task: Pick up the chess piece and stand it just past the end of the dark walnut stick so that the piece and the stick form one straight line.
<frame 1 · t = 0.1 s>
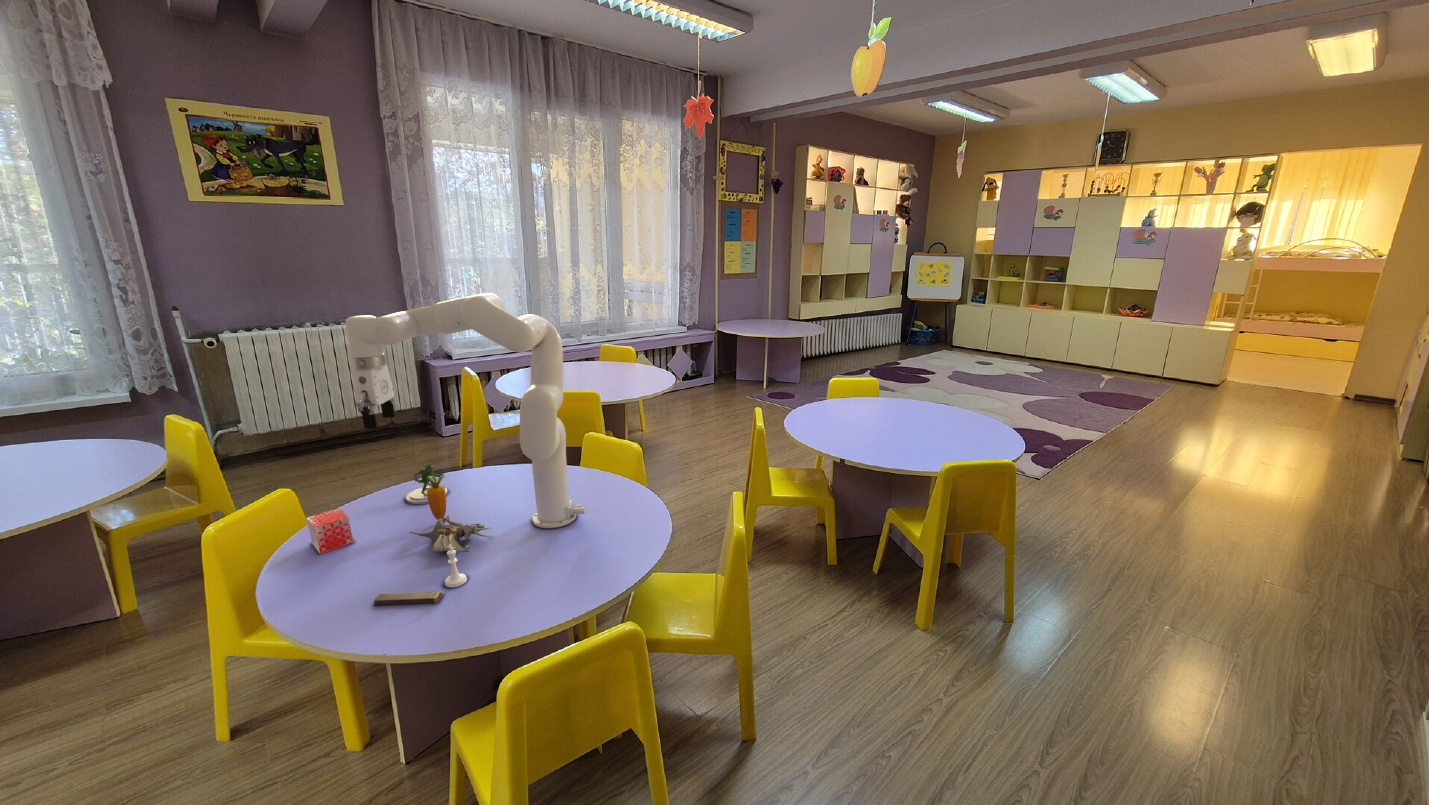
hand: (380, 422, 157), 31 cm above the table, tool pointing down, fingers open, 9 cm apart
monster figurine: (427, 496, 184), on the table
red patterned box: (333, 543, 156), on the table
figurine: (453, 546, 154), on the table
carrot: (441, 523, 167), on the table
chess piece: (456, 582, 138), on the table
walnut stick: (408, 600, 131), on the table
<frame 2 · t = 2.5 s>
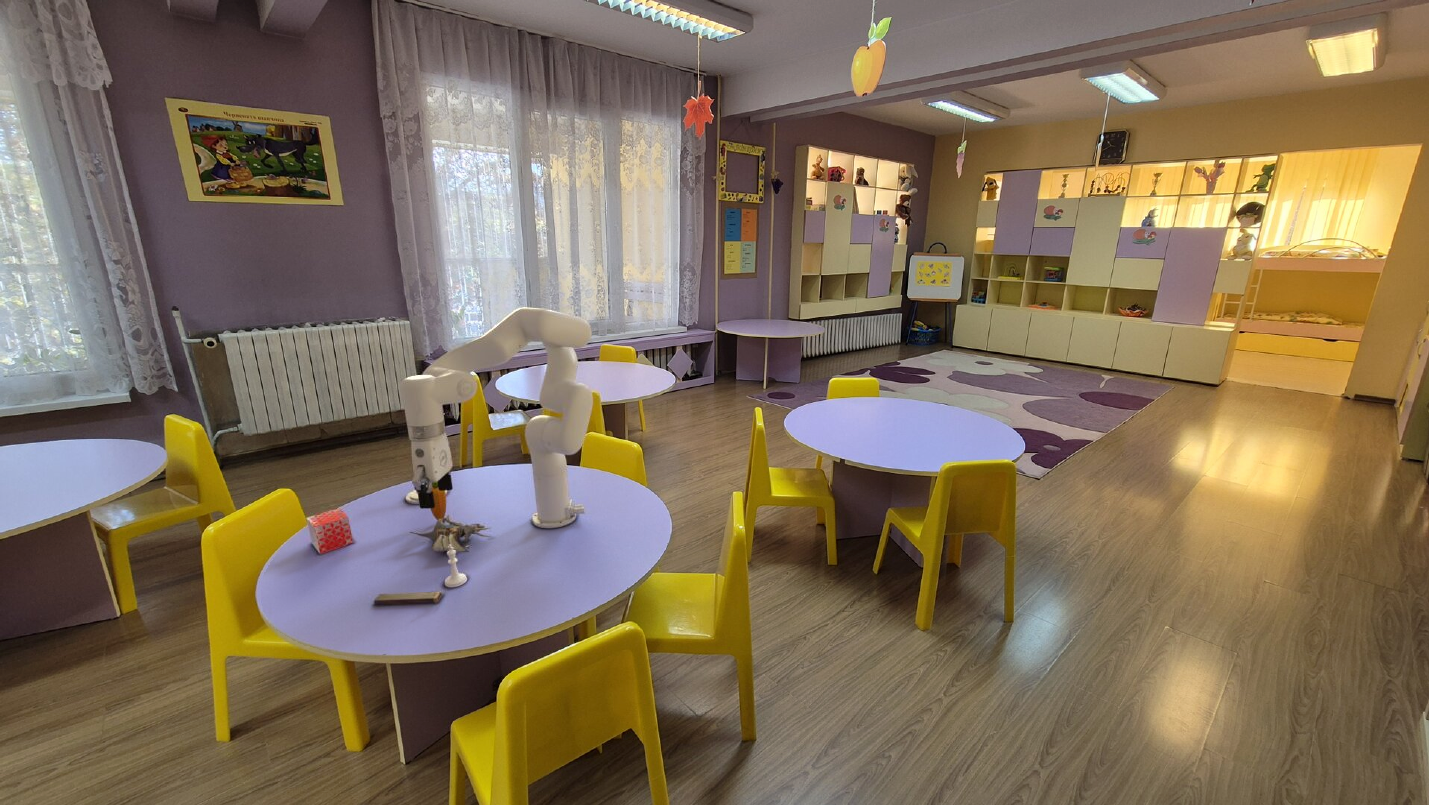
hand: (437, 498, 134), 21 cm above the table, tool pointing down, fingers open, 9 cm apart
nothing on the table moved.
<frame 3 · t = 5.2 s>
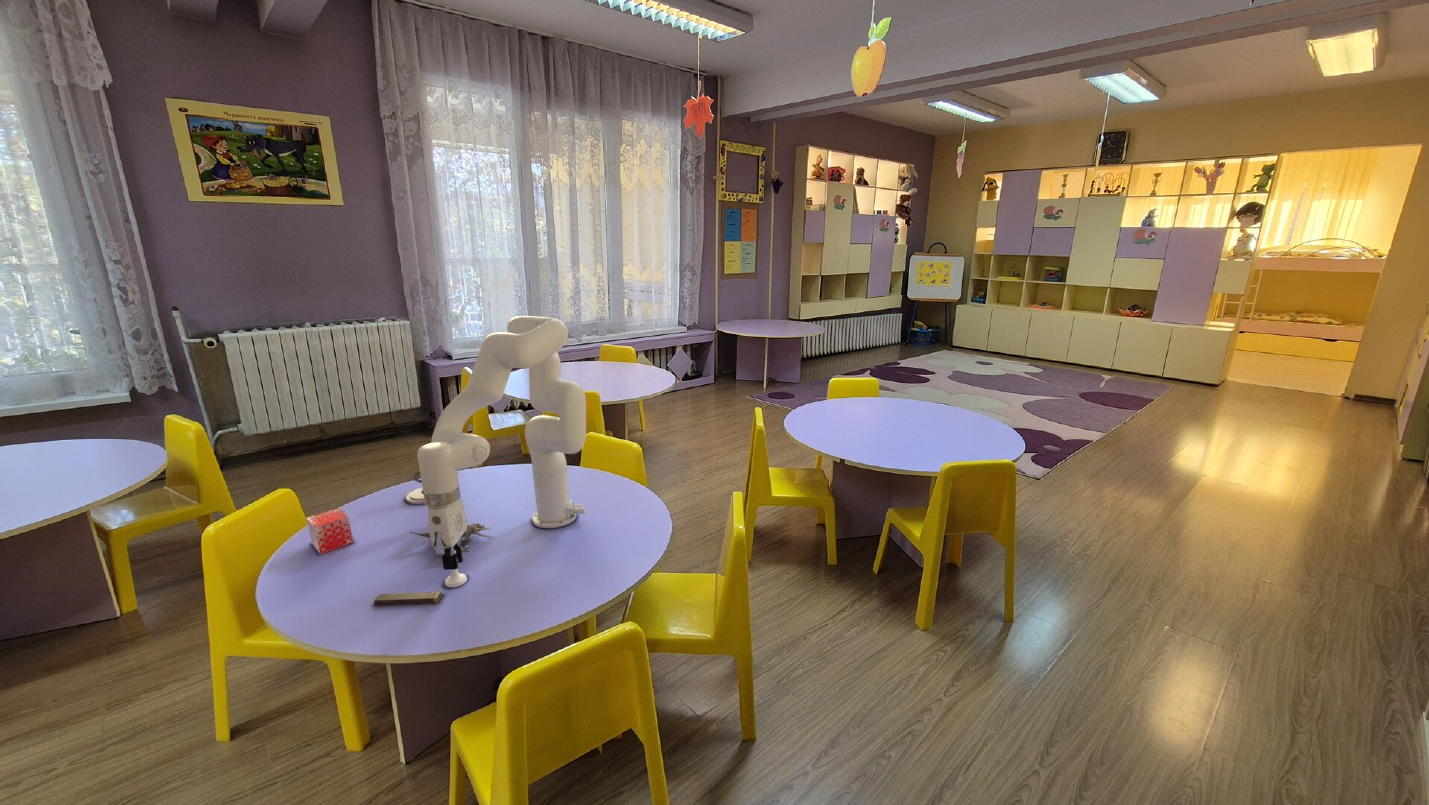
hand: (453, 565, 136), 5 cm above the table, tool pointing down, fingers closed on chess piece
chess piece: (456, 582, 138), on the table, touching gripper
everything else where it was.
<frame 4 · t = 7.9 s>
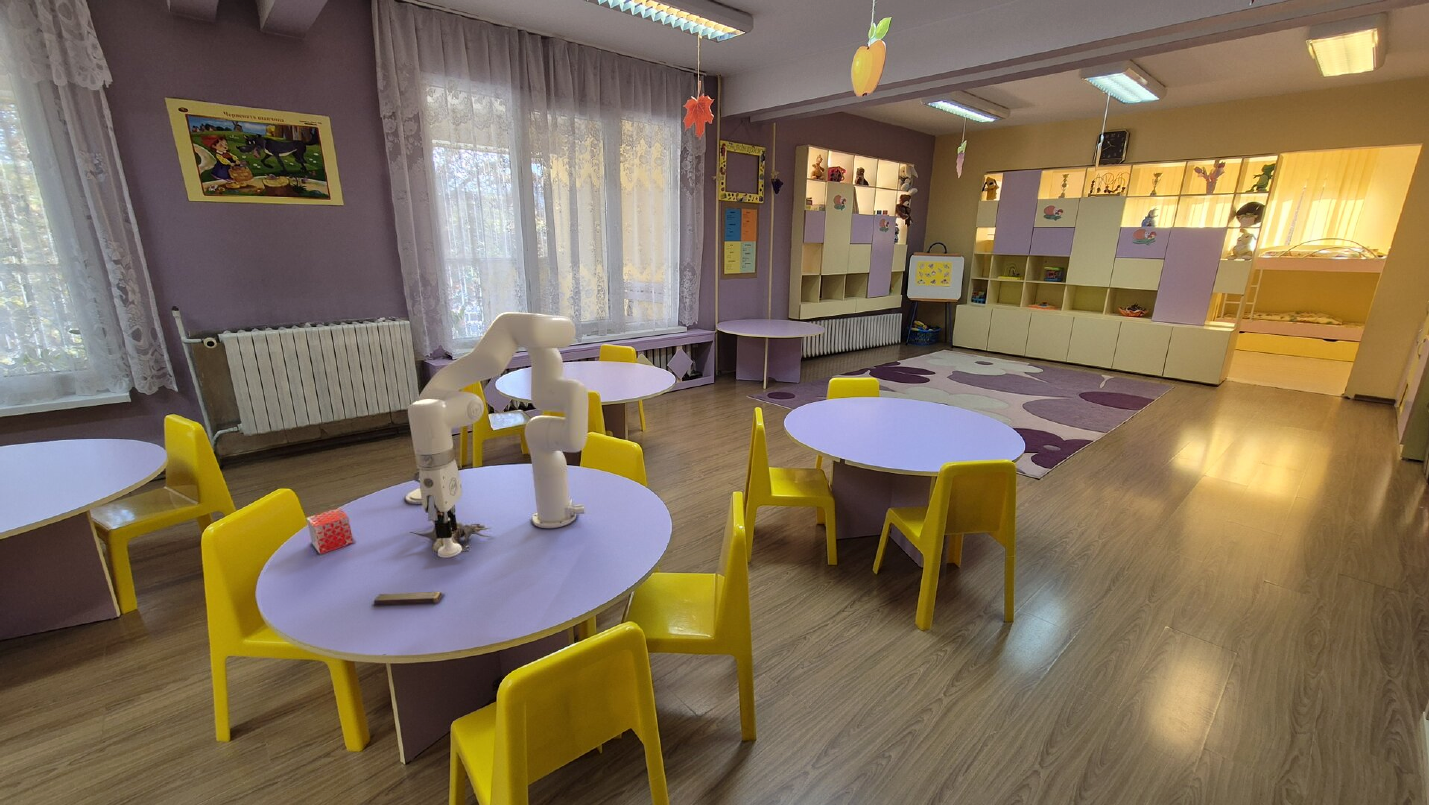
hand: (447, 533, 126), 17 cm above the table, tool pointing down, fingers closed on chess piece
chess piece: (450, 552, 128), point 12 cm above the table, touching gripper
everything else where it was.
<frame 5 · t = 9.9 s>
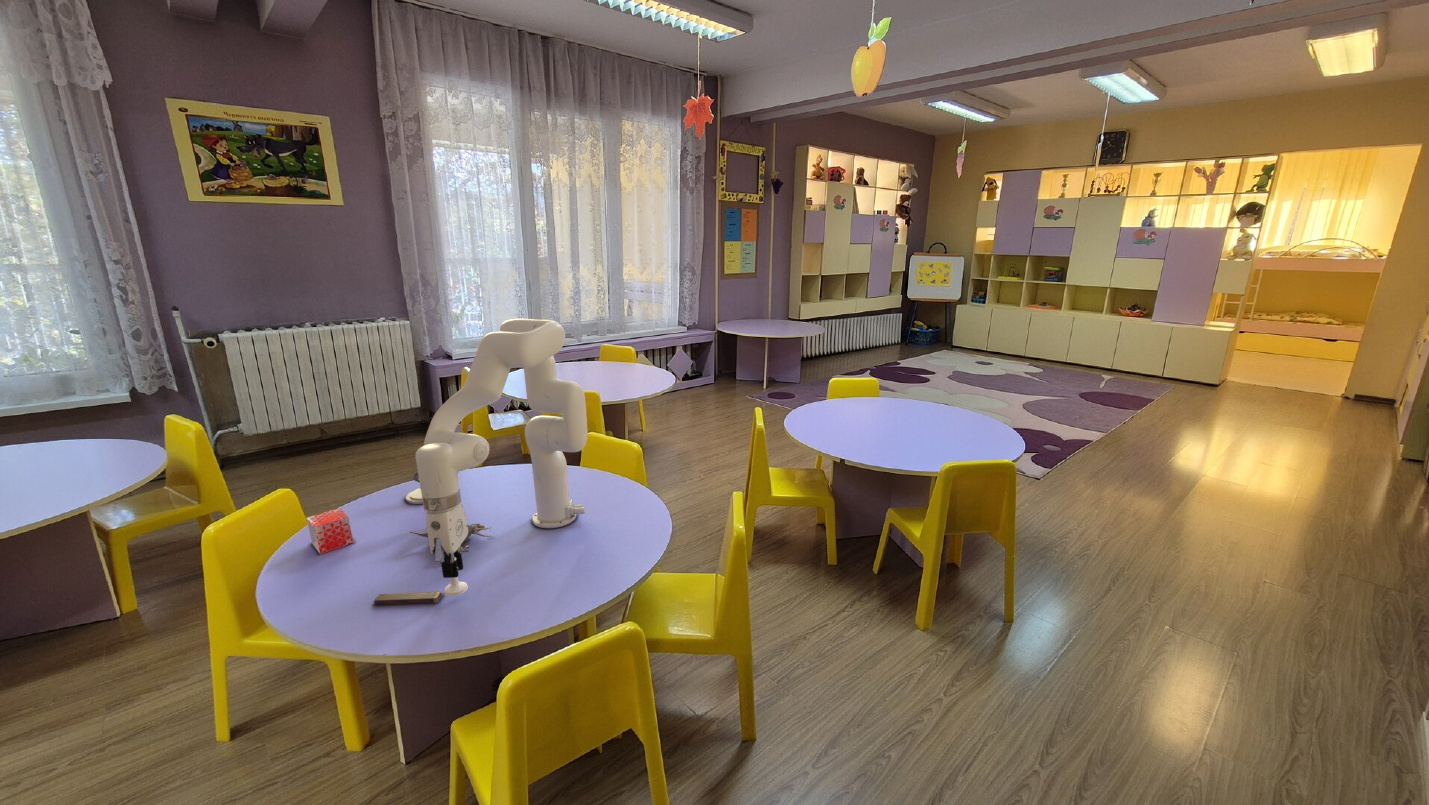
hand: (453, 572, 129), 7 cm above the table, tool pointing down, fingers closed on chess piece
chess piece: (456, 590, 130), point 2 cm above the table, touching gripper
everything else where it was.
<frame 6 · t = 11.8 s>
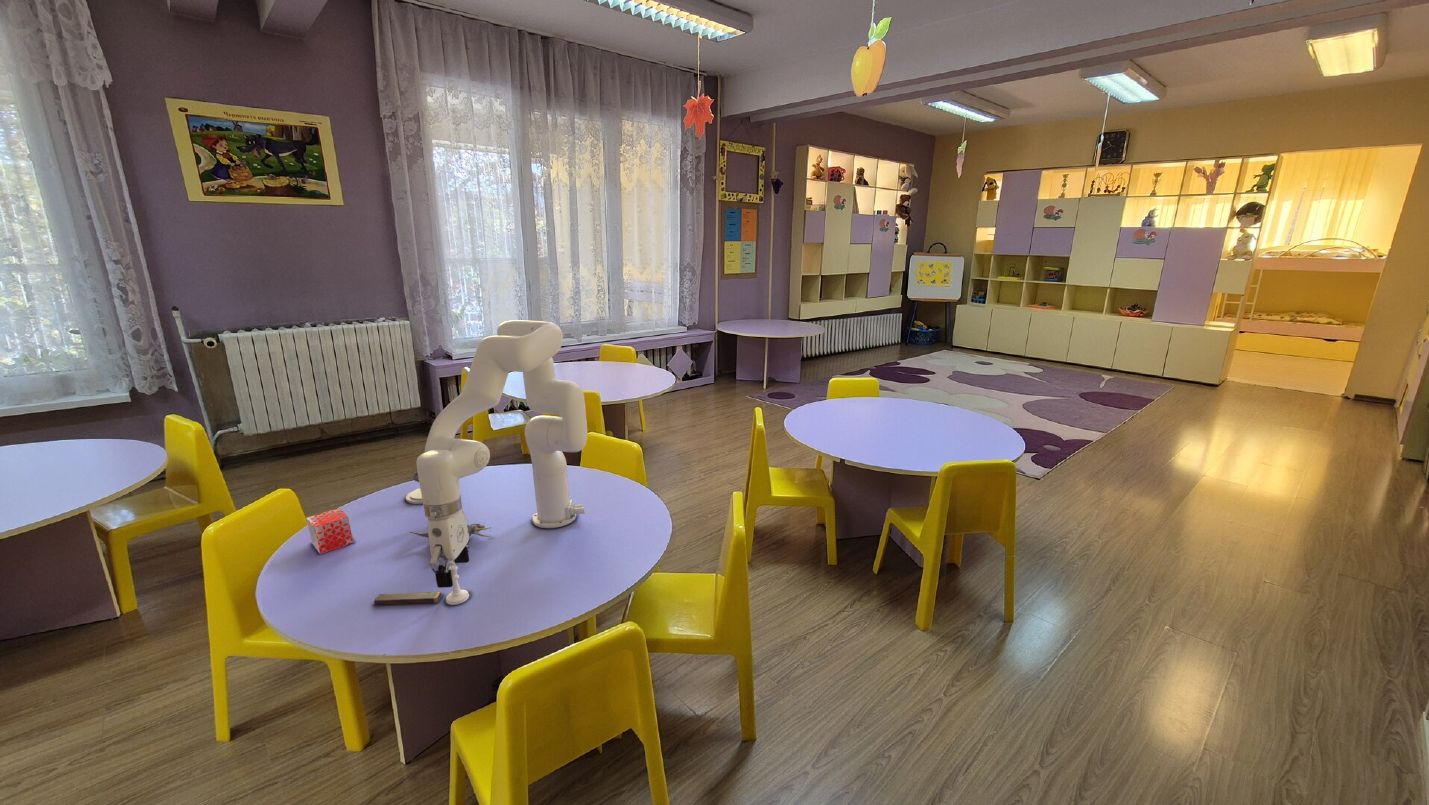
hand: (454, 574, 129), 6 cm above the table, tool pointing down, fingers open, 9 cm apart
chess piece: (457, 599, 131), on the table
everything else where it was.
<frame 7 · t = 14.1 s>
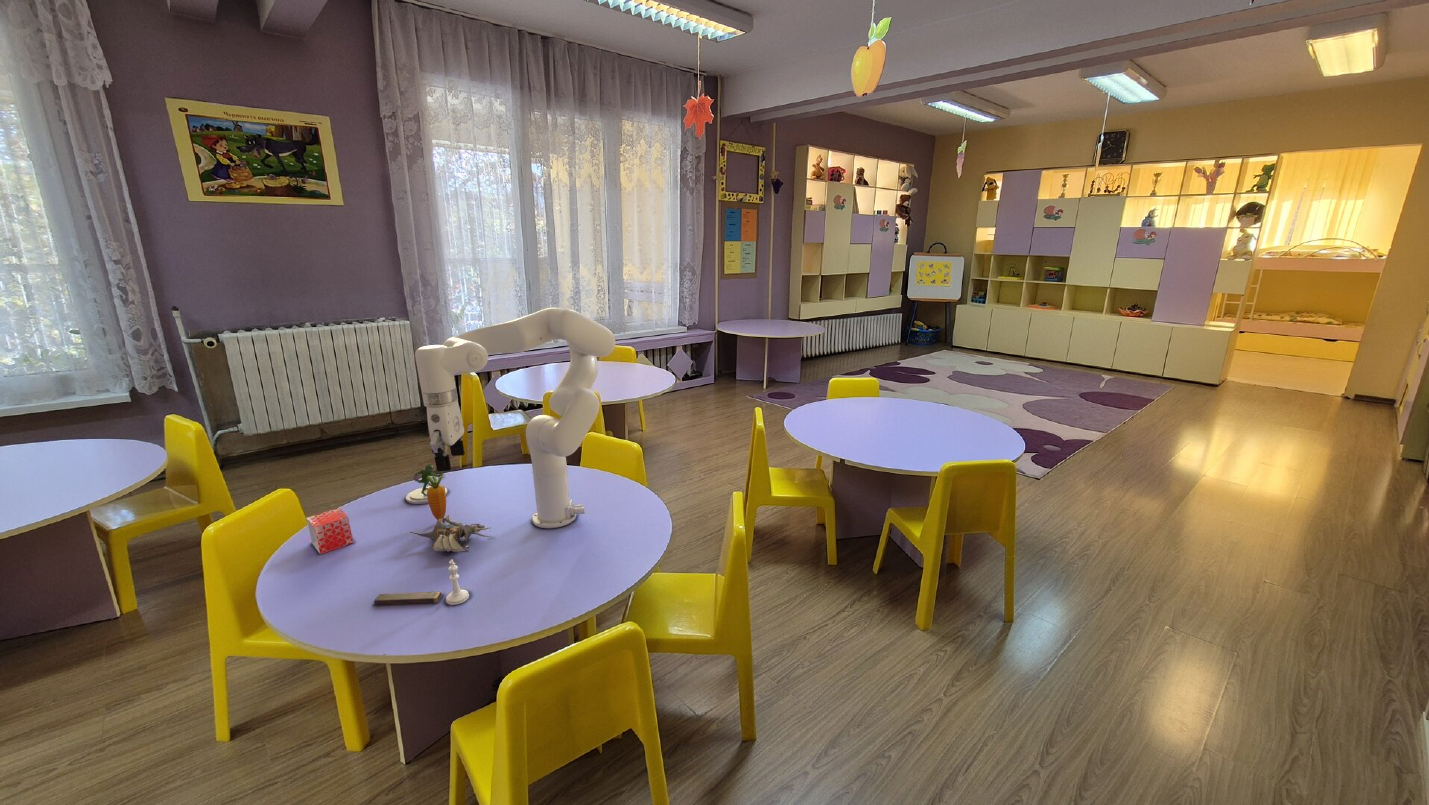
hand: (451, 462, 142), 26 cm above the table, tool pointing down, fingers open, 9 cm apart
nothing on the table moved.
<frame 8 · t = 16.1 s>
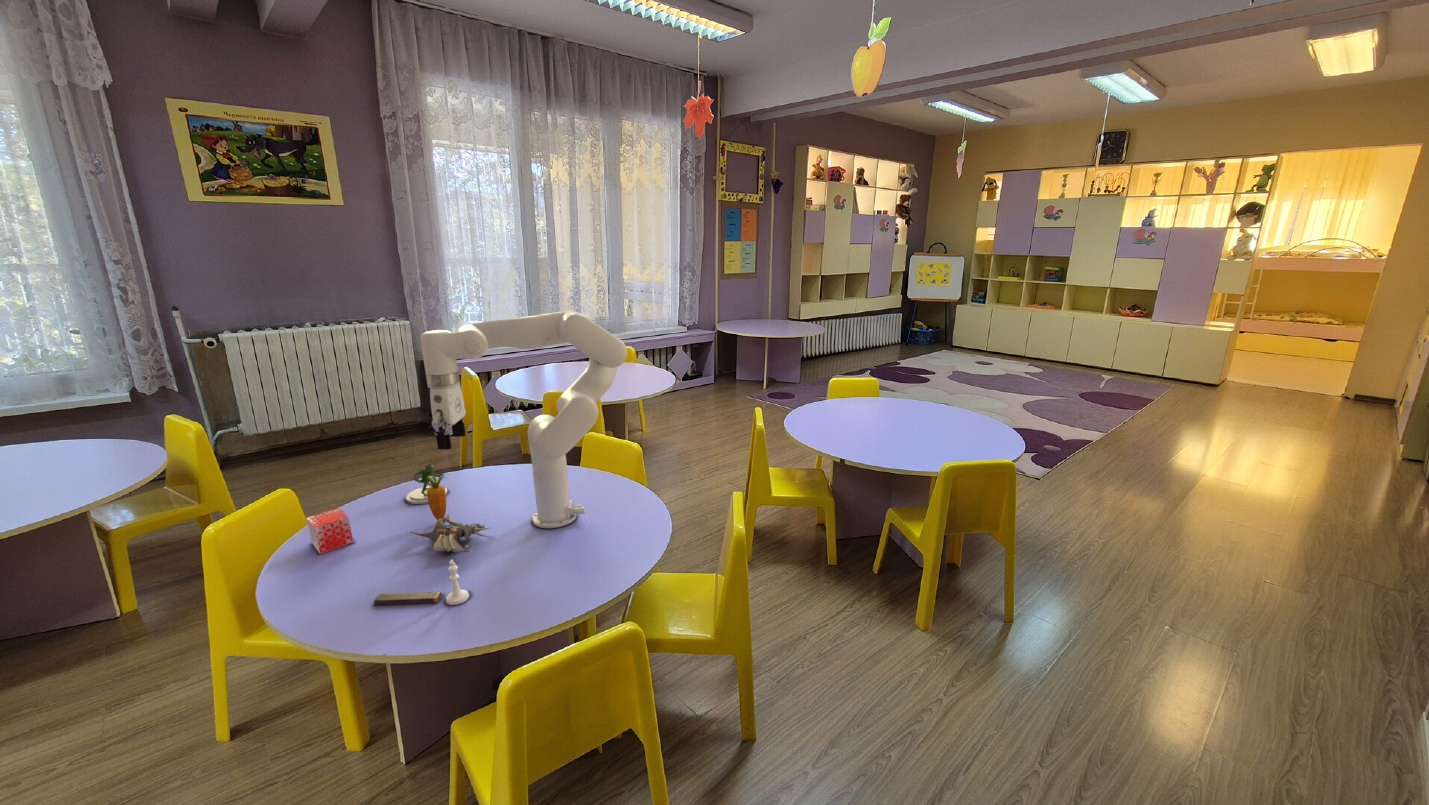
hand: (452, 442, 150), 28 cm above the table, tool pointing down, fingers open, 9 cm apart
nothing on the table moved.
at the end: chess piece 0.1 cm from the target spot, on the table; chess piece tilted 0° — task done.
